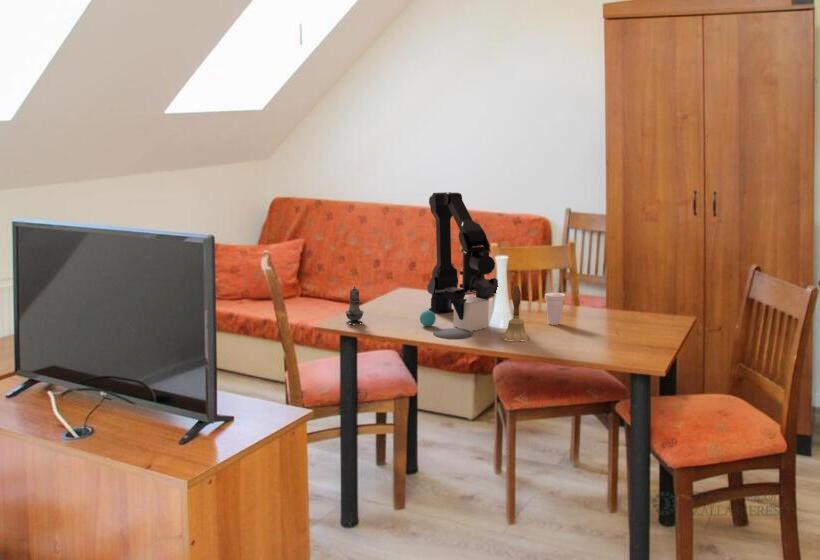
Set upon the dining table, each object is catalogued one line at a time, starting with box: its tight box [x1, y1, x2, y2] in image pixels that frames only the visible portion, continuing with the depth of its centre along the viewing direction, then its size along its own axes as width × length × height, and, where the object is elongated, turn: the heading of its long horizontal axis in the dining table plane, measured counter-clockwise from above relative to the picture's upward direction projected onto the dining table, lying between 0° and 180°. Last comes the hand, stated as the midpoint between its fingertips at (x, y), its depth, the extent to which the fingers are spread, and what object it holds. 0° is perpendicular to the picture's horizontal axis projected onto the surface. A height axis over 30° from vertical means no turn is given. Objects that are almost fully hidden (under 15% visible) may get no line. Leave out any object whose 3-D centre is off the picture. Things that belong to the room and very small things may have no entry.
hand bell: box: [501, 285, 530, 342], centre depth 291 cm, size 8×8×16 cm
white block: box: [453, 295, 490, 332], centre depth 304 cm, size 8×8×9 cm
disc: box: [432, 327, 474, 340], centre depth 296 cm, size 12×12×1 cm
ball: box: [419, 309, 437, 327], centre depth 305 cm, size 5×5×5 cm
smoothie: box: [544, 280, 566, 326], centre depth 308 cm, size 6×6×14 cm
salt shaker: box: [344, 285, 365, 325], centre depth 307 cm, size 6×6×12 cm
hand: (470, 317), depth 304 cm, fingers closed on white block, 8 cm apart
